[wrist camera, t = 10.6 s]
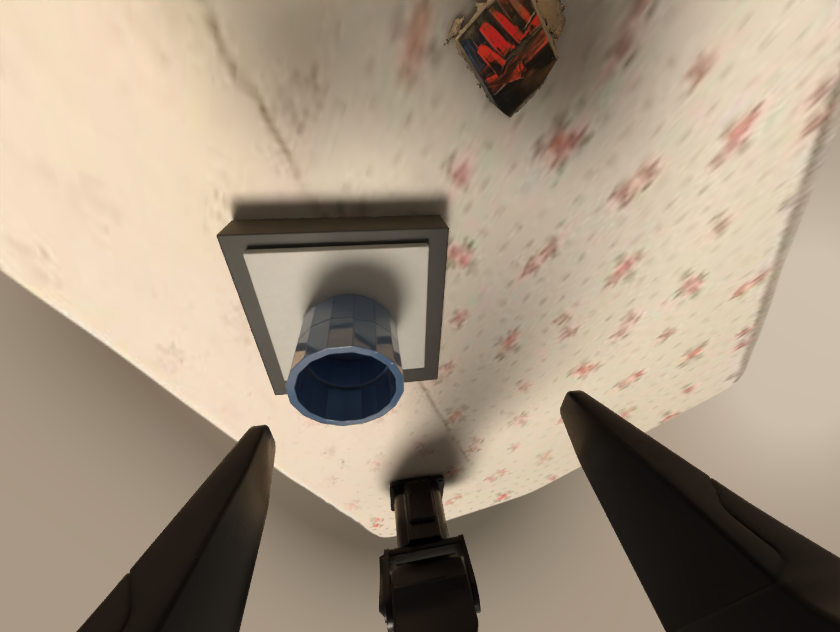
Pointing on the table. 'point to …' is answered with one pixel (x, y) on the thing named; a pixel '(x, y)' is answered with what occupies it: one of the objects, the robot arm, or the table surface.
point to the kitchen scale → (340, 280)
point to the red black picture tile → (510, 48)
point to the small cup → (346, 362)
